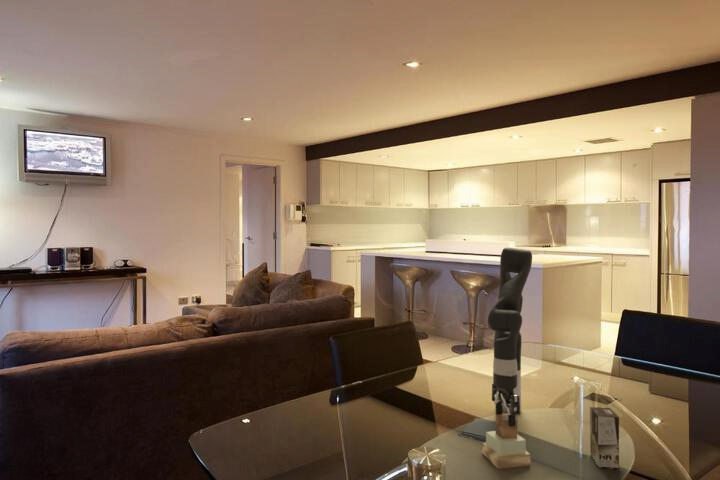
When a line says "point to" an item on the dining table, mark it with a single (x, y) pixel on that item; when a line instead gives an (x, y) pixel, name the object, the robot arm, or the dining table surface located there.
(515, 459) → the tower base
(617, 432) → the coffee box
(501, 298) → the robot arm
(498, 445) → the tower top
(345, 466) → the dining table surface
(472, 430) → the dark grey book
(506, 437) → the walnut block
